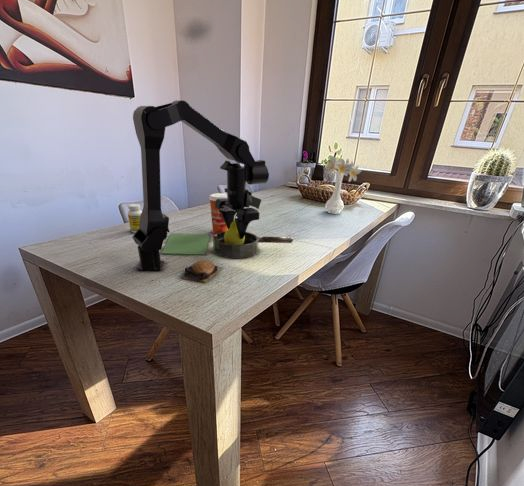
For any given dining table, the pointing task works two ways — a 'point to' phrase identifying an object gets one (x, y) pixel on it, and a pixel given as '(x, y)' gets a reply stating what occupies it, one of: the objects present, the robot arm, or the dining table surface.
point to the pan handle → (274, 239)
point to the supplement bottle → (134, 216)
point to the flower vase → (339, 182)
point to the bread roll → (200, 271)
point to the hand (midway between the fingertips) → (236, 235)
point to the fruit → (233, 235)
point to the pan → (235, 246)
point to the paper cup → (217, 214)
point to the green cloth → (186, 244)
